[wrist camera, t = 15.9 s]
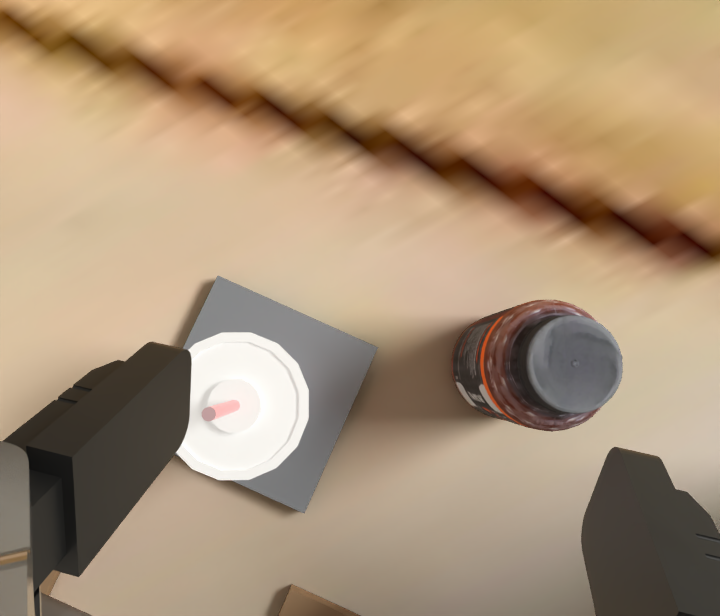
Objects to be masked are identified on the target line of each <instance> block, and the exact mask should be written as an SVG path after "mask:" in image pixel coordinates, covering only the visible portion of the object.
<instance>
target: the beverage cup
mask: <svg viewBox="0 0 720 616" xmlns="http://www.w3.org/2000/svg"><path fill="white" fill-rule="evenodd" d="M188 351H189V352H190V354H191V359H192V366H191V392H190V417H189V424H188V428H187V432H186V435H185V438H184V440H183V442H182V444H181V446H180V448H179V449H178V450H177V452H176V453H177V454H178V455H179V456H180V457H181V458H182V459H183V460H184V461H185V462H186V463H187V464H188V465H189V467H190V468H191V469H193V470H195V471H198V472H200V473H203V474H205V475H207V476H210V477H212V478H215V479H217V480H250V479H252V478H255V477H257V476H259V475H262V474H264V473H266V472H269V471H271V470H273V469H275V468H277V467H278V466H279V465H280V464H281V463H282V462H283V461H284V460H285V459H286V458H287V457H288V456H289V455H290V454H291V453H292V452H293V451H294V450H295V448H296V447H297V446H298V444H299V441H300V439H301V436H302V434H303V432H304V429H305V427H306V424H307V422H308V419H309V389H308V387H307V384H306V382H305V379H304V377H303V375H302V372H301V370H300V367H299V365H298V363H297V362H296V361H295V360H294V359H293V358H292V357H291V356H290V355H289V354H288V353H287V352H286V351H285V350H284V349H283V348H282V347H281V346H280V345H279V344H278V343H276V342H273V341H271V340H268V339H266V338H263V337H261V336H258V335H256V334H254V333H251V332H222V333H219V334H217V335H215V336H212V337H210V338H207V339H205V340H202V341H200V342H198V343H195V344H194V345H193V346H192V347H191V348H190V349H189V350H188Z"/></svg>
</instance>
